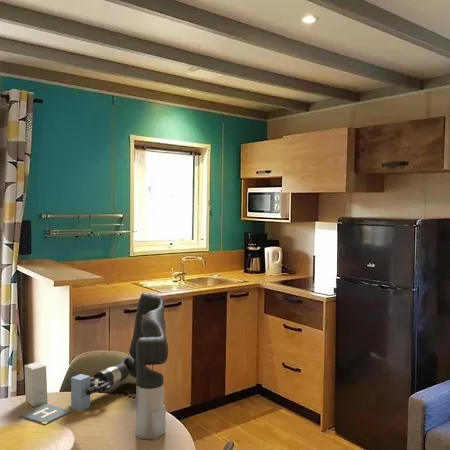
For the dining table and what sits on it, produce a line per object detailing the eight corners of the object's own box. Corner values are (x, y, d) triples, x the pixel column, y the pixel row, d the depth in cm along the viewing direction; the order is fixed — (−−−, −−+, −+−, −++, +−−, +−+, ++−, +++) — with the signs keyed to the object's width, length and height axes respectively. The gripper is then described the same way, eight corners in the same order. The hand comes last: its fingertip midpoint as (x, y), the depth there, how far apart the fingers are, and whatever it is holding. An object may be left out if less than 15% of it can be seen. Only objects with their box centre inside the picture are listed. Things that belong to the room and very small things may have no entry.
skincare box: (47, 403, 187) (47, 366, 186) (32, 407, 183) (32, 369, 182) (39, 397, 193) (39, 360, 192) (23, 401, 189) (24, 364, 188)
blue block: (90, 406, 184) (90, 376, 184) (80, 411, 180) (80, 380, 180) (80, 404, 187) (80, 373, 186) (71, 408, 182) (71, 377, 182)
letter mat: (70, 412, 179) (70, 410, 179) (45, 424, 168) (45, 422, 168) (44, 404, 186) (44, 403, 185) (18, 416, 175) (18, 414, 175)
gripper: (94, 366, 200) (65, 377, 185) (120, 371, 193) (92, 384, 179) (94, 383, 200) (64, 396, 186) (120, 390, 193) (92, 404, 179)
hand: (78, 390), depth 182 cm, fingers open, 8 cm apart
